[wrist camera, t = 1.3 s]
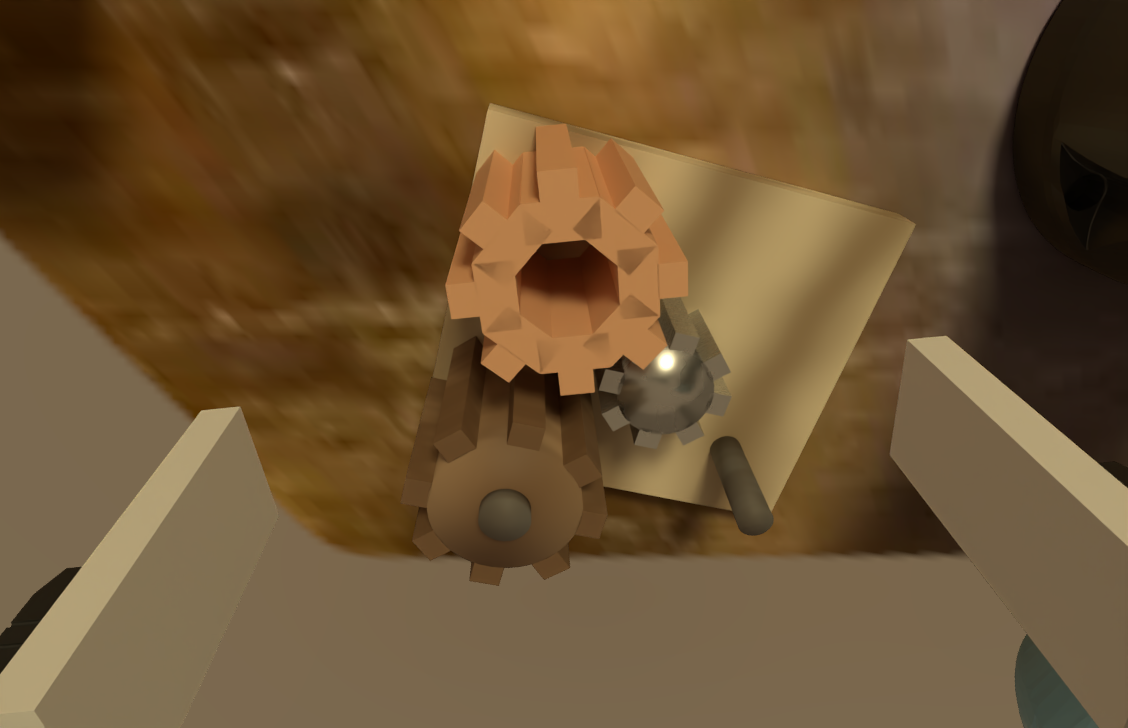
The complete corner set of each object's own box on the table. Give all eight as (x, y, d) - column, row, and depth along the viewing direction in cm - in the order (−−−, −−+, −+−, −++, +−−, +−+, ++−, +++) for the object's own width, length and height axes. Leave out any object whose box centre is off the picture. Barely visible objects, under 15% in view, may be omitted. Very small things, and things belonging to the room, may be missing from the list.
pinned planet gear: (612, 351, 30) (635, 456, 23) (568, 484, 33) (577, 610, 26) (444, 314, 29) (417, 413, 22) (415, 455, 32) (384, 579, 25)
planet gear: (649, 115, 26) (687, 156, 19) (655, 298, 29) (688, 383, 23) (452, 135, 26) (427, 182, 19) (480, 315, 29) (467, 404, 23)
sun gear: (725, 305, 29) (752, 349, 26) (685, 405, 31) (704, 458, 28) (610, 278, 28) (621, 320, 25) (578, 382, 31) (584, 434, 27)
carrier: (898, 213, 29) (988, 269, 23) (759, 498, 36) (802, 595, 30) (490, 103, 27) (478, 135, 21) (422, 432, 33) (399, 525, 27)
